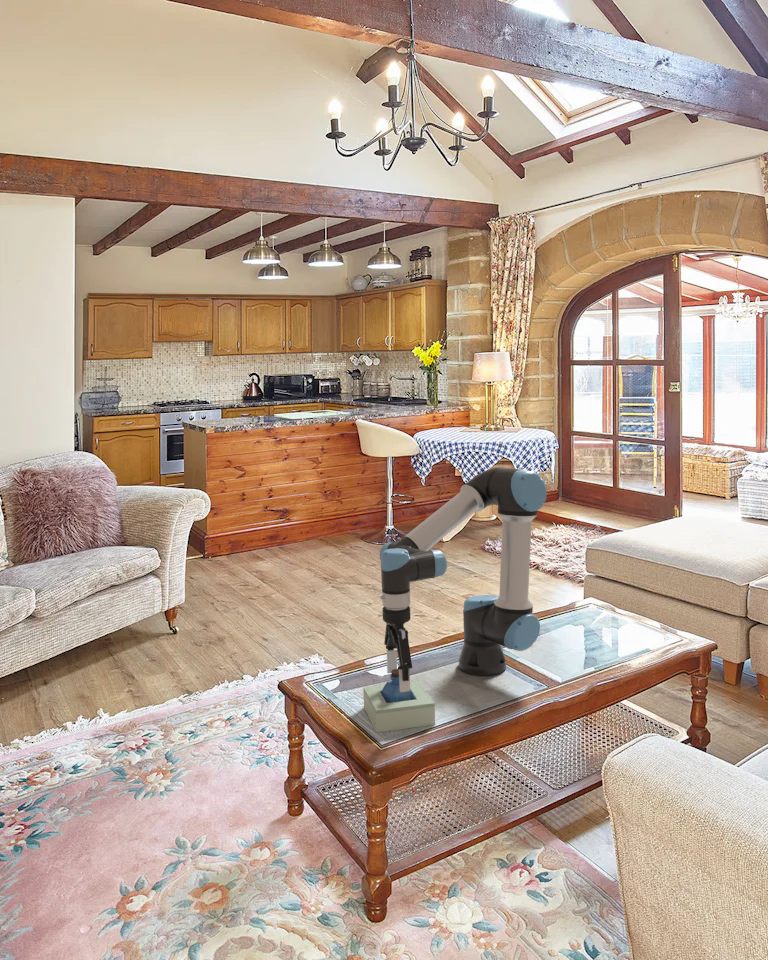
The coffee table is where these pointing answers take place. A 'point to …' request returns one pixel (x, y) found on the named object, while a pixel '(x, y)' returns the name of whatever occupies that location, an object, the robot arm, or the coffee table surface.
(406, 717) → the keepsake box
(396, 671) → the perfume bottle
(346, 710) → the coffee table surface
